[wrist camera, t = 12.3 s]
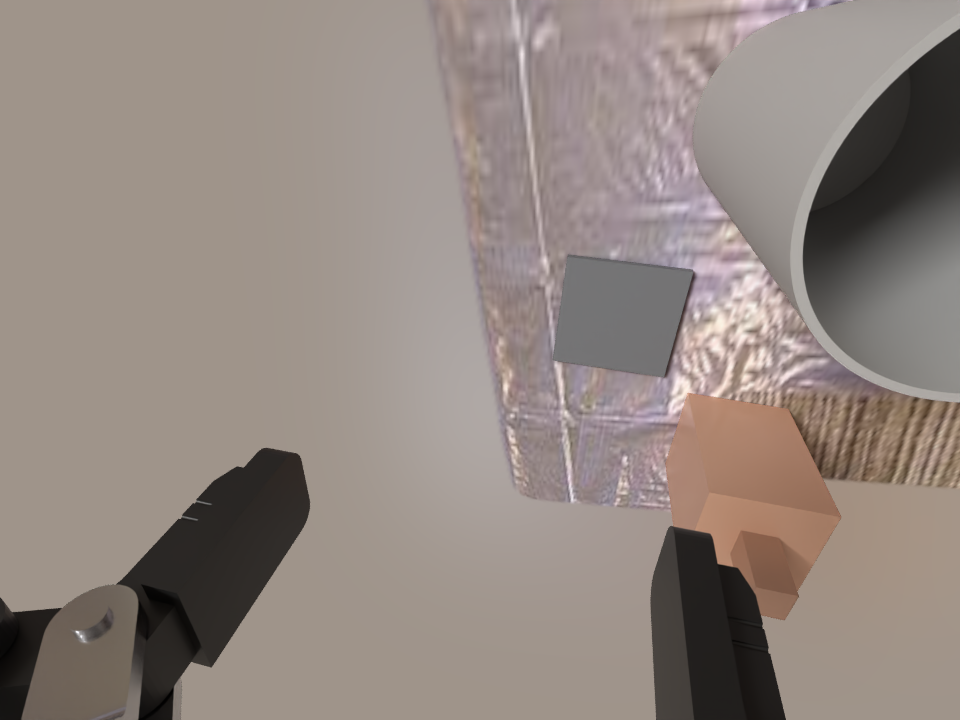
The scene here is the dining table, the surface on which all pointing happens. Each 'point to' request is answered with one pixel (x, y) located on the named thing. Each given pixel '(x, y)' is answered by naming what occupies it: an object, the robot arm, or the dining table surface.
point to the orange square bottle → (751, 494)
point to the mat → (620, 314)
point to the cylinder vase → (850, 179)
